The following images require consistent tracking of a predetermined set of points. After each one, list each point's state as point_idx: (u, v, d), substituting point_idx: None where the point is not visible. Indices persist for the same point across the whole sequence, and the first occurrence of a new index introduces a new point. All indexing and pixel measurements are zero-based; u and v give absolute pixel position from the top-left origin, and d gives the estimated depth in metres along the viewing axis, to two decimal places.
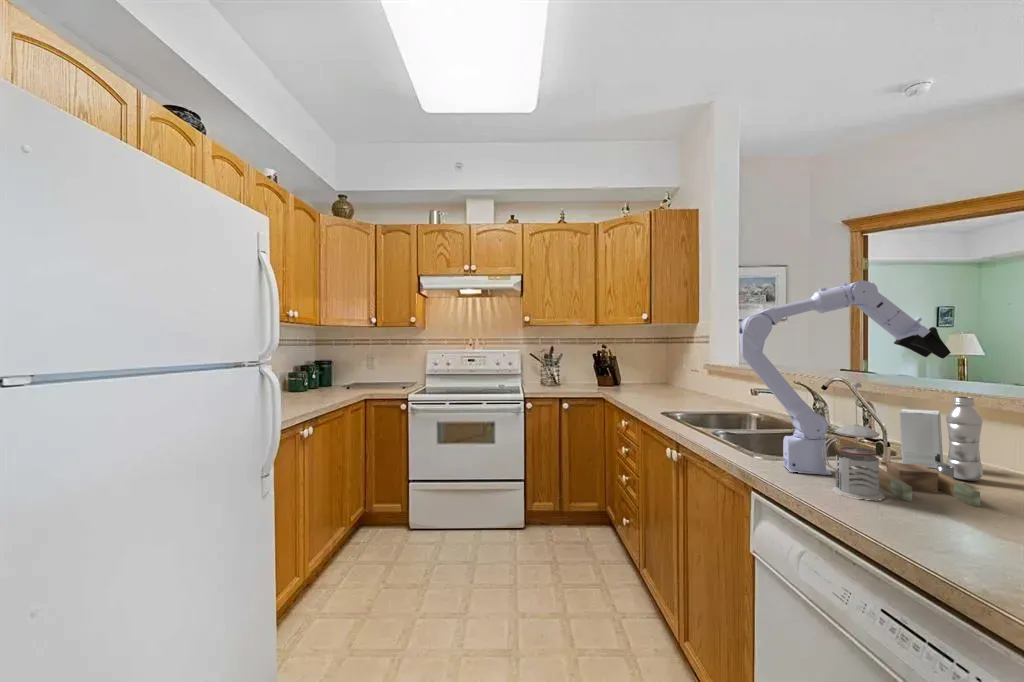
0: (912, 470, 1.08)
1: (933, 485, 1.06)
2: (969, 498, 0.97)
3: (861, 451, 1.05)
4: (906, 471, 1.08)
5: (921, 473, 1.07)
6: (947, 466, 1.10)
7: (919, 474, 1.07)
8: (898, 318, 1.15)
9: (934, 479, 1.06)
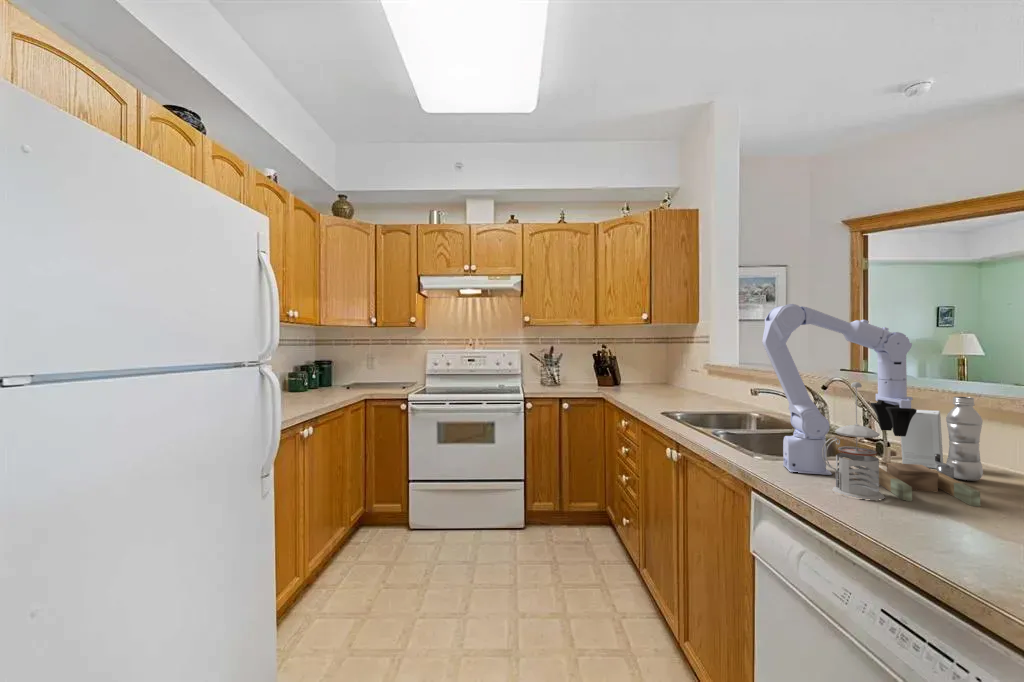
0: (912, 470, 1.08)
1: (933, 485, 1.06)
2: (969, 498, 0.97)
3: (861, 451, 1.05)
4: (906, 471, 1.08)
5: (921, 473, 1.07)
6: (947, 466, 1.10)
7: (919, 474, 1.07)
8: (898, 383, 1.16)
9: (934, 479, 1.06)
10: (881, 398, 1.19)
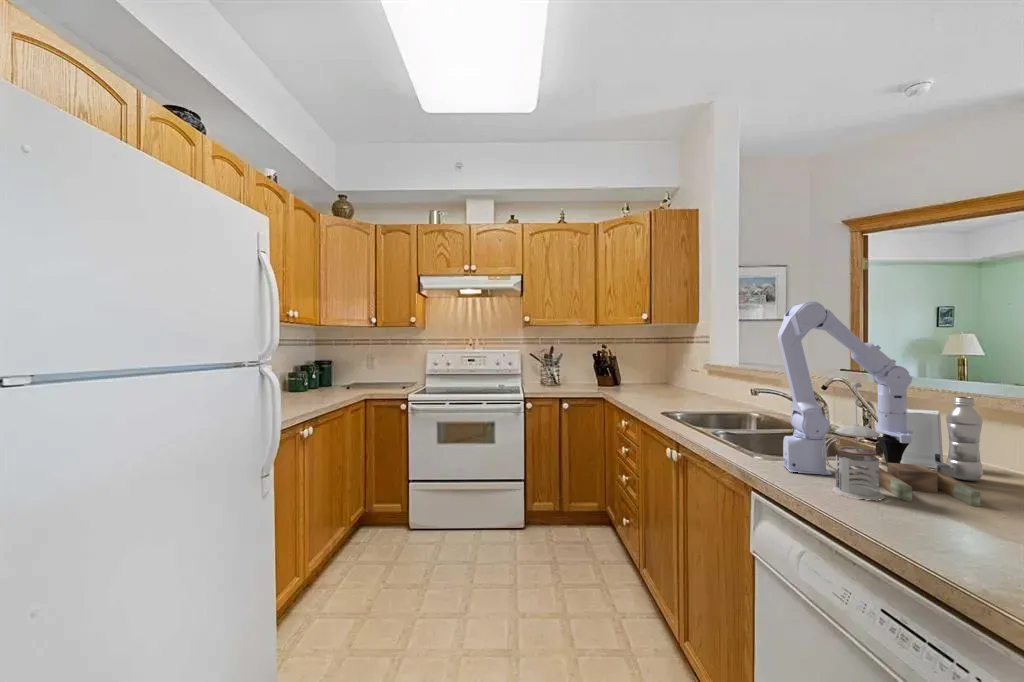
0: (911, 470, 1.08)
1: (933, 486, 1.06)
2: (969, 498, 0.97)
3: (861, 451, 1.05)
4: (905, 471, 1.08)
5: (920, 473, 1.07)
6: (947, 466, 1.10)
7: (919, 474, 1.07)
8: (898, 417, 1.16)
9: (933, 479, 1.06)
10: (881, 431, 1.19)
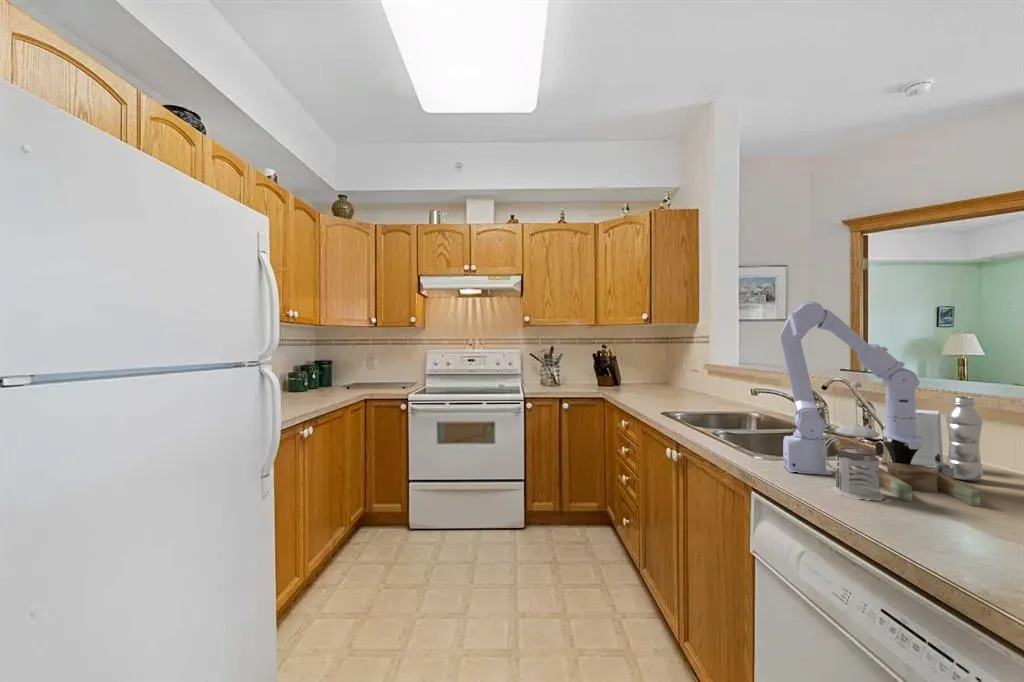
0: (911, 470, 1.08)
1: (933, 485, 1.06)
2: (969, 498, 0.97)
3: (861, 451, 1.05)
4: (905, 471, 1.08)
5: (920, 473, 1.07)
6: (947, 466, 1.10)
7: (918, 474, 1.07)
8: (907, 422, 1.12)
9: (933, 479, 1.06)
10: (889, 436, 1.15)
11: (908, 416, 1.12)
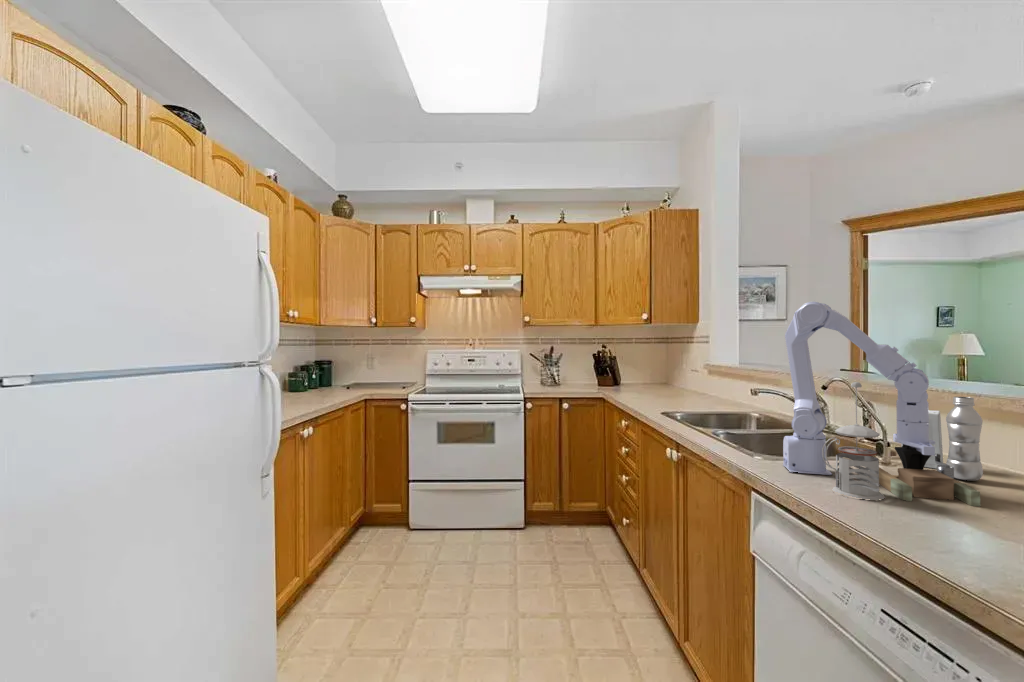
0: (926, 476, 1.02)
1: (949, 492, 1.01)
2: (969, 498, 0.97)
3: (861, 451, 1.05)
4: (920, 477, 1.02)
5: (936, 479, 1.01)
6: (947, 466, 1.10)
7: (934, 480, 1.01)
8: (919, 426, 1.07)
9: (949, 486, 1.00)
10: (901, 441, 1.09)
11: (916, 420, 1.07)
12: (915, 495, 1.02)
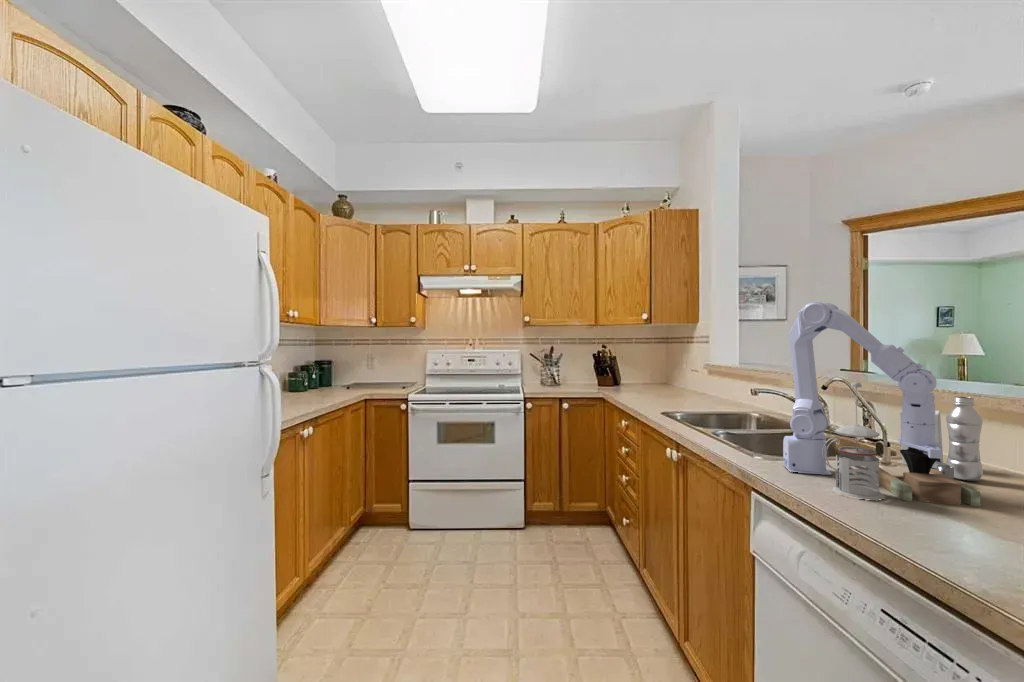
0: (932, 481, 1.00)
1: (956, 498, 0.98)
2: (969, 498, 0.97)
3: (861, 451, 1.05)
4: (926, 482, 1.00)
5: (942, 484, 0.99)
6: (947, 466, 1.10)
7: (941, 485, 0.99)
8: (925, 428, 1.04)
9: (957, 491, 0.98)
10: (906, 444, 1.06)
11: (921, 422, 1.04)
12: (921, 500, 1.00)
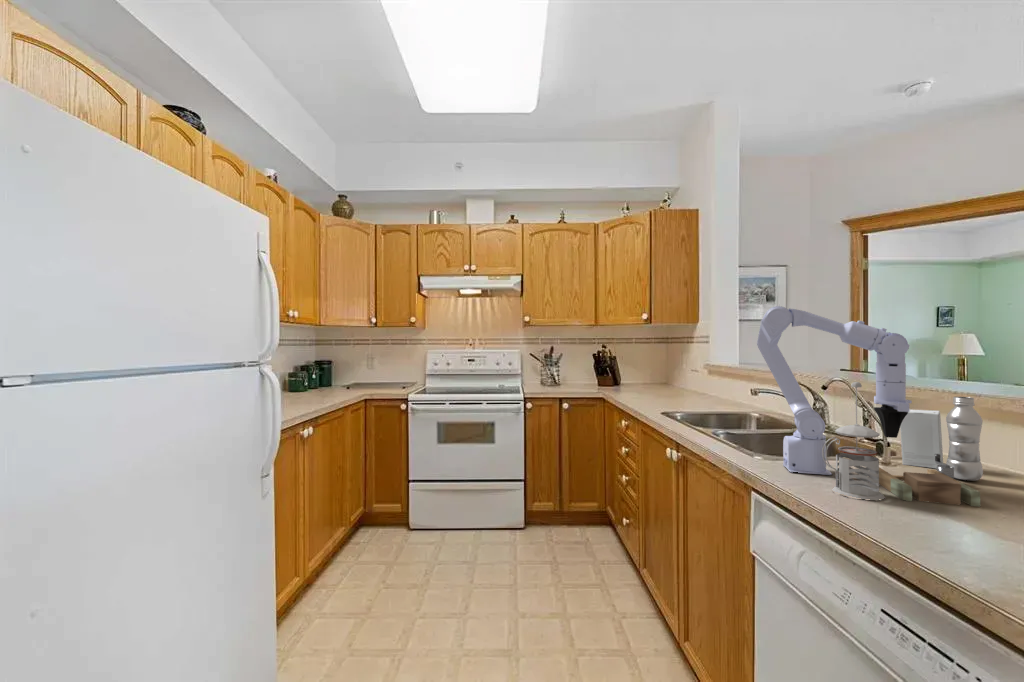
0: (932, 481, 1.00)
1: (956, 498, 0.98)
2: (969, 498, 0.97)
3: (861, 451, 1.06)
4: (925, 482, 1.00)
5: (942, 484, 0.99)
6: (947, 466, 1.10)
7: (940, 485, 0.99)
8: (896, 386, 1.13)
9: (956, 491, 0.98)
10: (879, 401, 1.15)
11: (897, 380, 1.13)
12: (920, 500, 1.00)
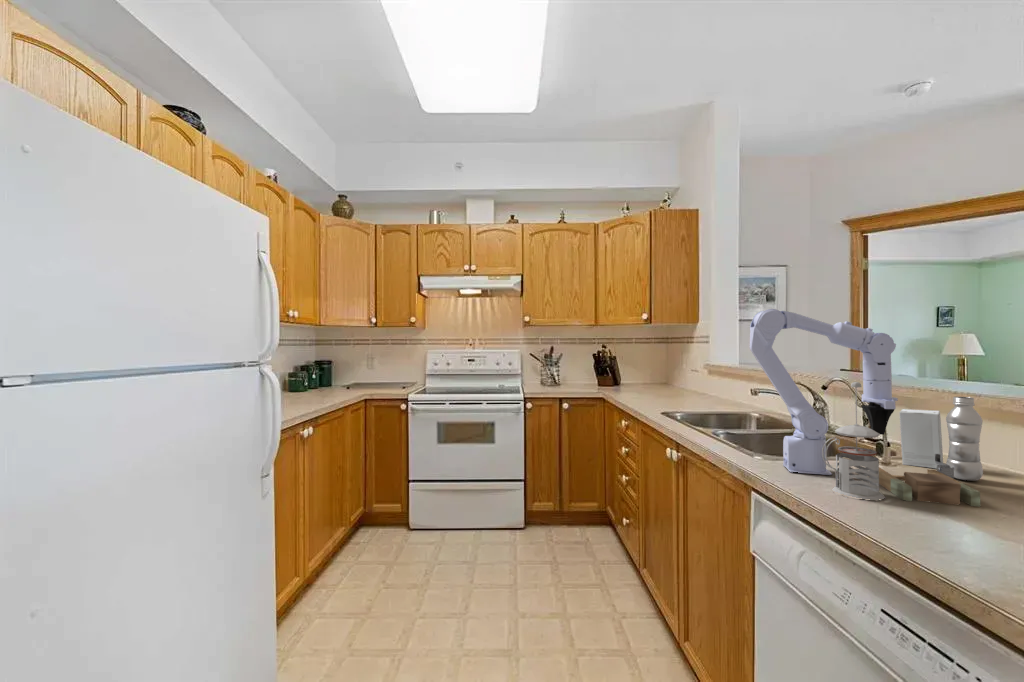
0: (931, 480, 1.00)
1: (955, 498, 0.98)
2: (969, 498, 0.97)
3: (861, 451, 1.05)
4: (924, 481, 1.00)
5: (941, 484, 0.99)
6: (947, 466, 1.10)
7: (939, 485, 0.99)
8: (882, 384, 1.16)
9: (956, 491, 0.98)
10: (866, 399, 1.19)
11: (886, 378, 1.16)
12: (919, 500, 1.00)
